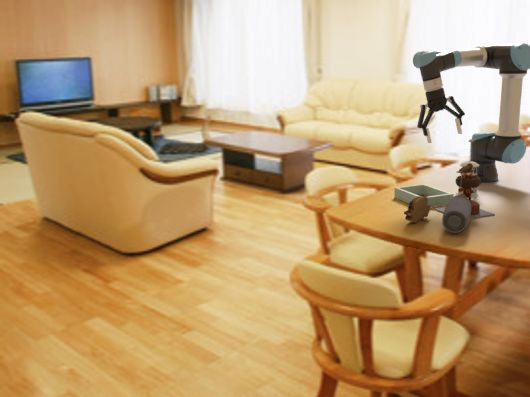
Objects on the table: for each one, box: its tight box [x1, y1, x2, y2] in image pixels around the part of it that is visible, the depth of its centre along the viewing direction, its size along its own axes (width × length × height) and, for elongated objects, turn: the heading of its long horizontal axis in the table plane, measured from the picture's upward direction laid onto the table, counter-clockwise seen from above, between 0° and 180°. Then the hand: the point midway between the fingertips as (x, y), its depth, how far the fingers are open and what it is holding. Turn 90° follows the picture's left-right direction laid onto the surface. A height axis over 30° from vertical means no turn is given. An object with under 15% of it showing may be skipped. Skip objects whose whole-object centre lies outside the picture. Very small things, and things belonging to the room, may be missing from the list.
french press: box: [455, 138, 480, 199], centre depth 256 cm, size 10×12×25 cm
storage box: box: [393, 183, 455, 208], centre depth 250 cm, size 15×20×4 cm
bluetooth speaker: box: [441, 194, 471, 234], centre depth 213 cm, size 23×9×10 cm, turn 157°
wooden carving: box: [403, 195, 432, 224], centre depth 221 cm, size 16×5×10 cm, turn 141°
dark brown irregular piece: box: [455, 163, 482, 215], centre depth 230 cm, size 15×11×20 cm
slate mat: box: [434, 206, 495, 220], centre depth 232 cm, size 16×16×1 cm
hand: (445, 138), depth 247 cm, fingers open, 13 cm apart
